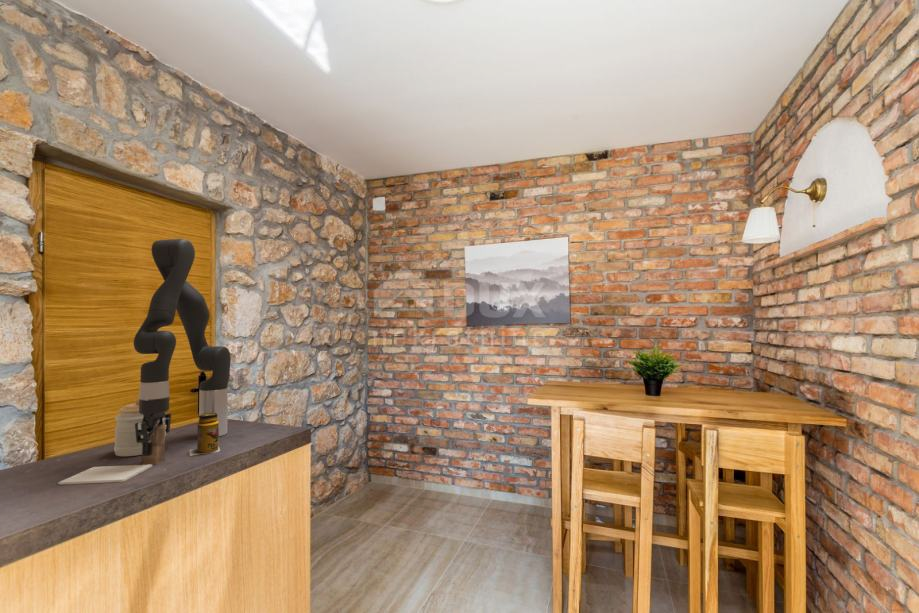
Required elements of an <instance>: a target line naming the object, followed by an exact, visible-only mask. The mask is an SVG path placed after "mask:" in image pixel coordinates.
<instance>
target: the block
mask: <svg viewBox="0 0 919 613" xmlns="http://www.w3.org/2000/svg"><path fill="white" fill-rule="evenodd" d="M147 432H151V431H147ZM148 437H149V435H148ZM165 439H166V436H165V424H163V425H158V426H157V427H156V433H155V435H153V438H152V441H151V443H152V454H151V455H150V456H143V455H141V457H142V458H141V465H150V464H152V465H158V464H160V463H162V462H163V461H165V454H166V453H165V451H166V450H165V448H166V447H165V446H166V445H165V444H166V440H165Z"/></svg>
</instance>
